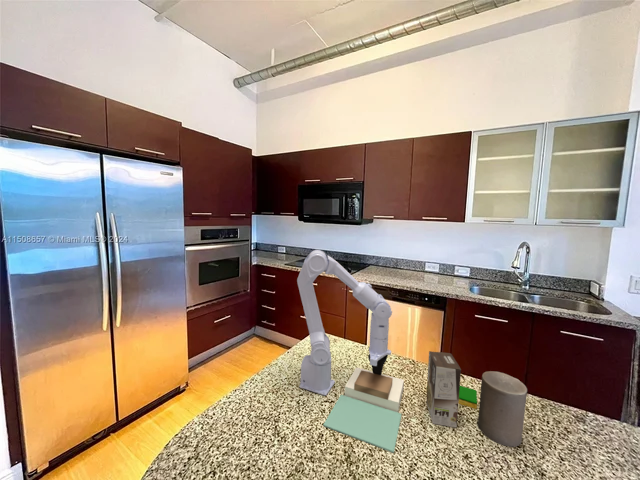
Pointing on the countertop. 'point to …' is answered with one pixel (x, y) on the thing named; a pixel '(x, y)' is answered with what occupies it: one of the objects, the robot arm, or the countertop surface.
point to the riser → (388, 404)
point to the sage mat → (365, 422)
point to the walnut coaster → (373, 384)
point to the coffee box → (443, 388)
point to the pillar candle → (502, 408)
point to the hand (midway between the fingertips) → (377, 376)
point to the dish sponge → (467, 397)
